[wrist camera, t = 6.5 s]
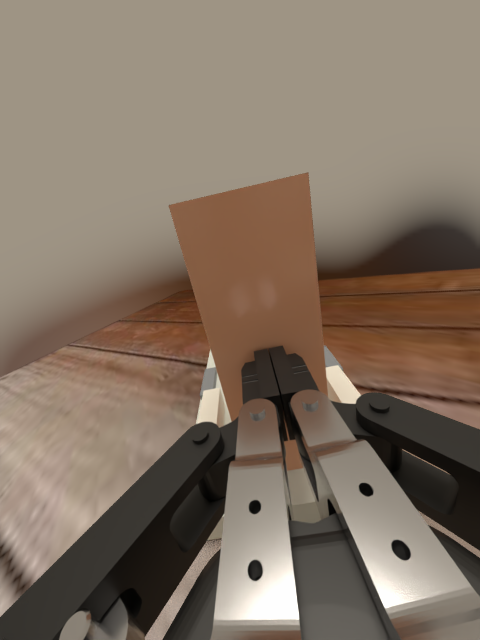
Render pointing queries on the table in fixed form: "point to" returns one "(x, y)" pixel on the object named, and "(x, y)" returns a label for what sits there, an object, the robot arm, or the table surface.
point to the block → (255, 279)
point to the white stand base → (301, 494)
